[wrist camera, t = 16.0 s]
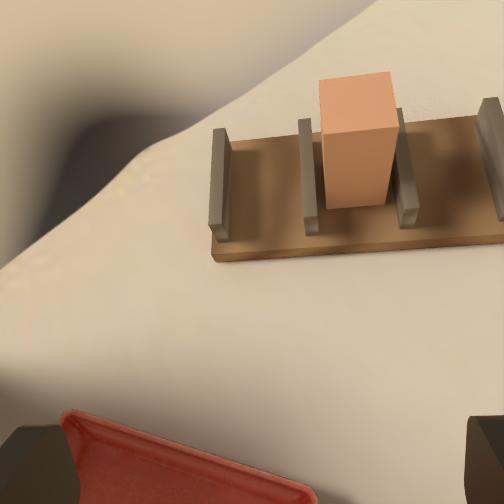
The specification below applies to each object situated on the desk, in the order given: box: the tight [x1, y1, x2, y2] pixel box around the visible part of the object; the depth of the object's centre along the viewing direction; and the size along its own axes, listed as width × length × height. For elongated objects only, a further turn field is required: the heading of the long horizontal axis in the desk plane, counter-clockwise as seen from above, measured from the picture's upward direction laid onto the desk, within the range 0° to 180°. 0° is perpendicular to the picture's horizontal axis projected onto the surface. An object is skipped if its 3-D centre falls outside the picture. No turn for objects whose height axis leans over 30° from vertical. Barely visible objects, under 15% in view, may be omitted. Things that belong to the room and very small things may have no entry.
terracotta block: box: [319, 72, 399, 209], centre depth 32 cm, size 4×4×9 cm
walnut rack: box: [208, 97, 504, 262], centre depth 36 cm, size 23×11×4 cm, turn 90°
